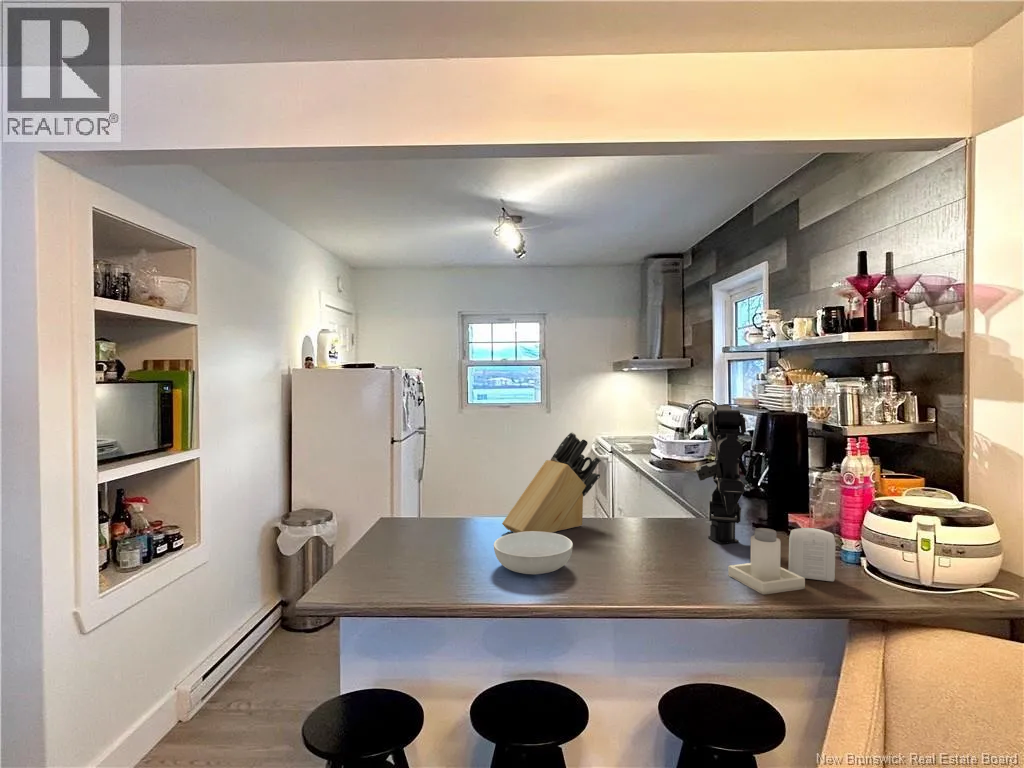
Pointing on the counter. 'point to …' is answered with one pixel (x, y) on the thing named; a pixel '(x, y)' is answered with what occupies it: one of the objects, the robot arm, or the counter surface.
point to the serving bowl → (533, 551)
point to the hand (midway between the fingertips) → (727, 510)
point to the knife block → (555, 491)
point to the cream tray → (785, 583)
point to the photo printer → (812, 554)
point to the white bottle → (765, 555)
